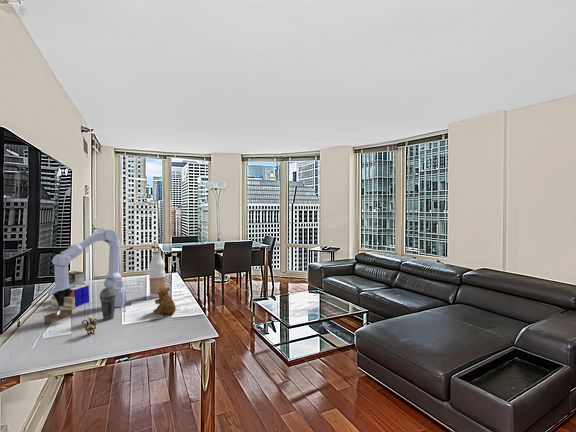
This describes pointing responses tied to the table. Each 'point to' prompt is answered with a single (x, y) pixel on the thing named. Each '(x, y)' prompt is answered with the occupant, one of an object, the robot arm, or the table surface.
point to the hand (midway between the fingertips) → (63, 305)
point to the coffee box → (76, 278)
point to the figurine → (90, 325)
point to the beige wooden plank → (68, 303)
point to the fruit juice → (156, 274)
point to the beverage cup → (107, 302)
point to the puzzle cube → (80, 294)
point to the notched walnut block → (56, 316)
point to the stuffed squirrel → (164, 302)
